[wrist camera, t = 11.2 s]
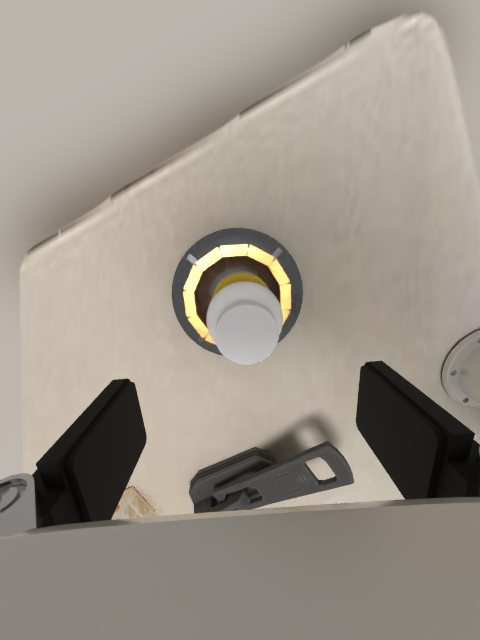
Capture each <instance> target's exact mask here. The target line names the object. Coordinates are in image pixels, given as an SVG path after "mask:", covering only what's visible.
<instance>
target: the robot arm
mask: <svg viewBox="0 0 480 640" xmlns="http://www.w3.org/2000/svg"><path fill="white" fill-rule="evenodd" d="M442 382H443V386H444V388H445V391H446V392H447V393H448V395H449V396H450V397H452V398H453V399H454V400H456V401H457V402H459V403H460V404H462V405H466V406H469V407H480V330H478V331H476V332H474V333H472V334H470V335H469V336H467V337H466V338H464V339H463V340H462V341H461V342H459V343H458V344H457V345H456V347H455V348H454V349H453V350H452V351H451V353H450V354H449V356H448V357H447V359H446V362H445V364H444V367H443V371H442ZM356 424H357V428H358V430H359V431H360V433H361V434H362V436H363V437H364V439H365V440H366V442H367V443H368V445H369V446H370V448H371V449H372V451H373V452H374V454H375V455H376V457H377V458H378V460H379V461H380V463H381V464H382V466H383V467H384V469H385V470H386V472H387V473H388V474H389V476H390V477H391V479H392V480H393V482H394V483H395V485H396V486H397V488H398V489H399V491H400V492H401V494H402V495H403V497H404V498H405V500H389V501H374V502H357V503H341V504H326V505H310V506H295V507H280V508H265V509H251V510H237V511H223V512H208V513H195V514H182V515H169V516H155V517H142V518H129V519H116V520H111V519H112V517H113V515H114V512H115V510H116V508H117V506H118V504H119V501H120V499H121V497H122V495H123V493H124V490H125V488H126V486H127V484H128V482H129V479H130V477H131V475H132V473H133V471H134V468H135V466H136V464H137V462H138V460H139V457H140V455H141V453H142V451H143V449H144V446H145V444H146V431H145V427H144V422H143V418H142V413H141V409H140V405H139V400H138V396H137V391H136V387H135V384H134V382H131V381H130V380H129V379H118V380H113V381H111V383H110V384H109V385H108V386H107V387H106V388H105V389H104V390H103V391H102V392H101V393H100V395H99V396H98V397H97V398H96V399H95V400H94V401H93V402H92V403H91V404H90V405H89V407H88V408H87V409H86V410H85V411H84V412H83V413H82V414H81V415H80V416H79V417H78V418H77V420H76V421H75V422H74V423H73V424H72V425H71V426H70V427H69V428H68V429H67V430H66V432H65V433H64V434H63V435H62V436H61V437H60V438H59V439H58V440H57V441H56V442H55V444H54V445H53V446H52V447H51V448H50V449H49V450H48V451H47V452H46V453H45V454H44V456H43V457H42V458H41V459H40V460H39V461H38V462H37V463H36V466H37V468H38V469H37V470H36V471H35V472H34V474H33V475H29V474H16V475H12V476H10V477H7V478H4V479H2V480H0V640H480V444H478V443H477V442H476V441H475V440H473V439H474V435H475V433H474V432H472V431H471V430H470V429H469V428H467V427H466V426H465V425H463V424H462V423H461V422H460V421H458V420H457V419H456V418H455V417H453V416H452V415H451V414H449V413H448V412H447V411H446V410H444V409H443V408H442V407H440V406H439V405H438V404H437V403H435V402H434V401H433V400H431V399H430V398H429V397H428V396H426V395H425V394H424V393H422V392H421V391H420V390H419V389H417V388H416V387H415V386H414V385H412V384H411V383H410V382H408V381H407V380H406V379H405V378H403V377H402V376H401V375H399V374H398V373H397V372H396V371H394V370H393V369H392V368H390V367H389V366H388V365H387V364H385V363H384V362H382V361H374V362H366V363H365V365H364V366H362V367H361V370H360V381H359V392H358V403H357V414H356Z"/></svg>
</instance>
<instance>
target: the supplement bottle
mask: <svg viewBox="0 0 480 640" xmlns="http://www.w3.org/2000/svg"><path fill="white" fill-rule="evenodd" d="M206 322H207V328H208V332H209V334H210V336H211V338H212V340H213V341H214V342H215V344H216V345H217V347H218V349H219V351H220V352H221V353H222V355H223V356H224V357H225V358H227V359H228V360H230V361H232V362H234V363H237V364H242V365H250V364H255V363H259V362H261V361H263V360H265V359H266V358H267V357H269V356H270V355H271V354H272V352H273V351H274V350H275V348H276V346H277V343H278V340H279V335H280V333H281V329H282V325H283V313H282V308H281V306H280V303H279V301H278V300H277V298H276V297H275V295H274V294H273V293H272V292H271V291H270V289H269V288H268V287H267V286H266V284H265V283H264V282H263V281H262V279H260V278H259V277H258V276H257V275H255V274H253V273H251V272H247V271H236V272H232V273H230V274H228V275H226V276H225V277H224V278H222V279H221V281H220V282H219V283H218V285H217V286H216V289H215V291H214V294H213V297H212V299H211V302H210V304H209V307H208V311H207V317H206Z"/></svg>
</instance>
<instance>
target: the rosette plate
mask: <svg viewBox="0 0 480 640" xmlns="http://www.w3.org/2000/svg"><path fill="white" fill-rule="evenodd" d="M236 271H247V272H251V273H253V274H255V275H257V276H258V277H259V278H260V279H262V281H263V282H264V283H265V284H266V286H267V287H268V288H269V289H270V291H271V292H272V293H273V294H274V295H275V297H276V298H277V300H278V301H279V303H280V306H281V308H282V313H283V325H282V329H281V333H280V335H279V340H278V343H279V342H280V341H281V340H282V339H283V338H284V337H285V336H286V335H287V334H288V333H289V331H290V330H291V328H292V327H293V325H294V324H295V322H296V320H297V318H298V315H299V312H300V309H301V304H302V295H303V290H302V281H301V276H300V273H299V270H298V268H297V266H296V264H295V262H294V260H293V258H292V257H291V255H290V254H289V253H288V251H287V250H286V249H285V248H284V247H283V246H282V245H281V244H279V243H278V242H277V241H276V240H274V239H273V238H271V237H269V236H267V235H265V234H263V233H261V232H258V231H254V230H250V229H243V228H232V229H225V230H221V231H217V232H214V233H212V234H210V235H207V236H205V237H204V238H202V239H201V240H199V241H198V242H196V243H195V244H194V245H193V246H192V247H191V248H190V249H189V250H188V251H187V252H186V253H185V255H184V256H183V258H182V259H181V261H180V263H179V265H178V267H177V269H176V272H175V275H174V279H173V284H172V301H173V307H174V311H175V314H176V316H177V319H178V321H179V323H180V325H181V326H182V328H183V329H184V331H185V332H186V333H187V334H188V336H189V337H190V338H191V339H192V340H193V341H195V342H196V343H197V344H198V345H200V346H201V347H203V348H204V349H206V350H208V351H210V352H213V353H216V354H219V355H222V353H221V352H220V351H219V349H218V347H217V345H216V344H215V342H214V341H213V340H212V338H211V336H210V334H209V332H208V328H207V322H206V317H207V311H208V307H209V304H210V302H211V299H212V297H213V294H214V291H215V289H216V286H217V285H218V283H219V282H220V281H221V279H222V278H224V277H225V276H226V275H228V274H230V273H232V272H236Z"/></svg>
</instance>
